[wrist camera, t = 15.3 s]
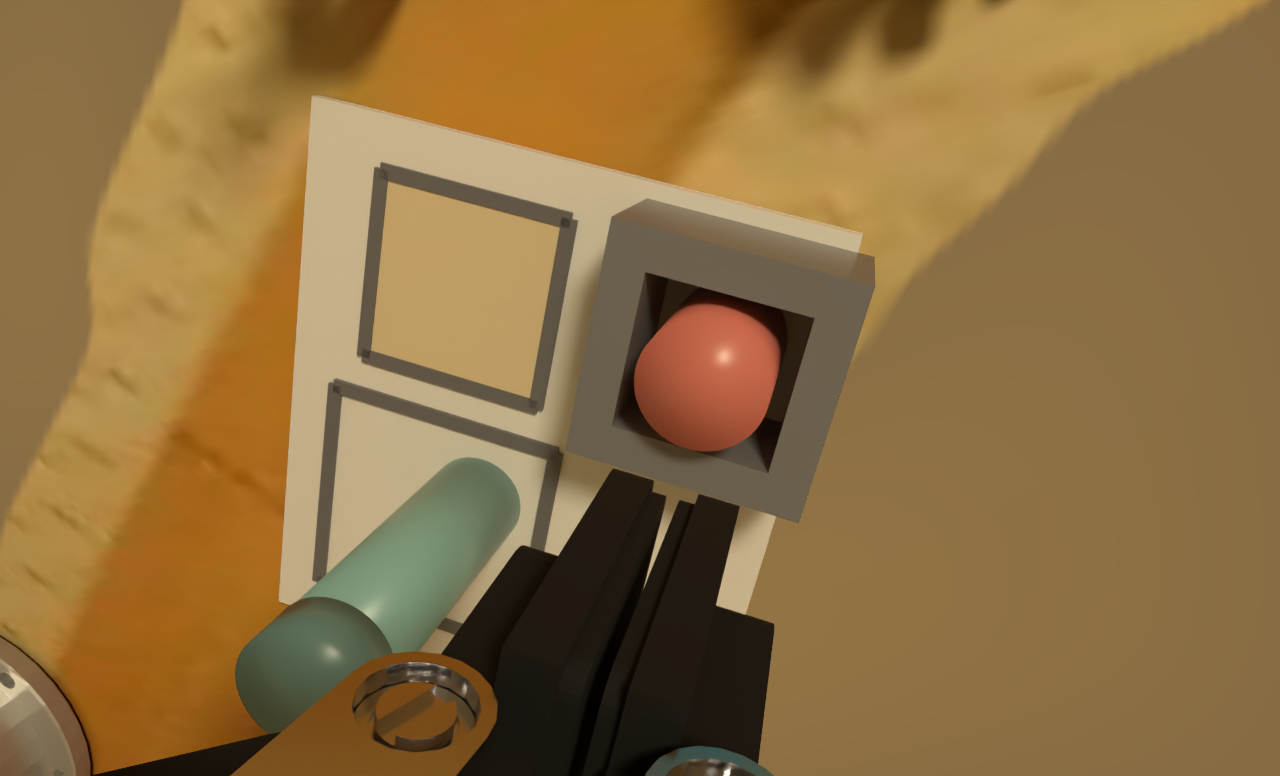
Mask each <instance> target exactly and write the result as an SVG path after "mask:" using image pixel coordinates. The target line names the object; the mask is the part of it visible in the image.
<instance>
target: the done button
mask: <svg viewBox="0 0 1280 776" xmlns="http://www.w3.org/2000/svg"><path fill="white" fill-rule="evenodd" d="M787 340H788V335H787V327H786V322H785V319H784V316H783V314H782V312H781V310H780V309H779V308H776V307H772V306H768V305H765V304H761V303H757V302H754V301H750V300H746V299H743V298H739V297H735V296H732V295H728V294H724V293H721V292H717V291H713V290H709V289H706V288H702V287H699V288H698V289H696V290H695V291H694V292H692V293H691V294H690V295H689V296H688V297H687V298H686V299H685V301H684V302H683V303H682V304H681V305H680V306H679V308H678V309H677V310H676V311H675V312H674V313H673V315H672V316H671V317H670V318H669V319H668V320H667V322H666V323H665V324H664V325H663V326H662V327H661V329H660V330H659V331H658V332H657V333H656V334H655V336H654V337H653V338H652V339H651V340H650V341H649V343H648V344H647V345H646V346H645V348H644V349H643V351H642V352H641V354H640V357H639V359H638V361H637V365H636V368H635V374H634V389H635V396H636V400H637V403H638V405H639V408H640V410H641V412H642V414H643V416H644V418H645V419H646V420H647V422H648V423H649V424H650V426H651V427H652V428H653V429H654V430H655V431H656V432H657V433H658V434H660V435H661V436H662V437H663V438H665V439H666V440H668V441H669V442H671V443H673V444H675V445H677V446H680V447H683V448H686V449H690V450H694V451H718V450H723V449H726V448H729V447H732V446H734V445H737V444H738V443H740V442H742V441H744V440H745V439H746V438H747V437H749V436H750V435H751V434H752V433H753V432H754V431H755V430H756V429H757V427H758V426H759V425H760V423H761V422H762V420H763V418H764V416H765V414H766V412H767V409H768V406H769V403H770V400H771V397H772V393H773V390H774V387H775V384H776V381H777V378H778V374H779V371H780V368H781V365H782V362H783V359H784V355H785V352H786V348H787Z"/></svg>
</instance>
